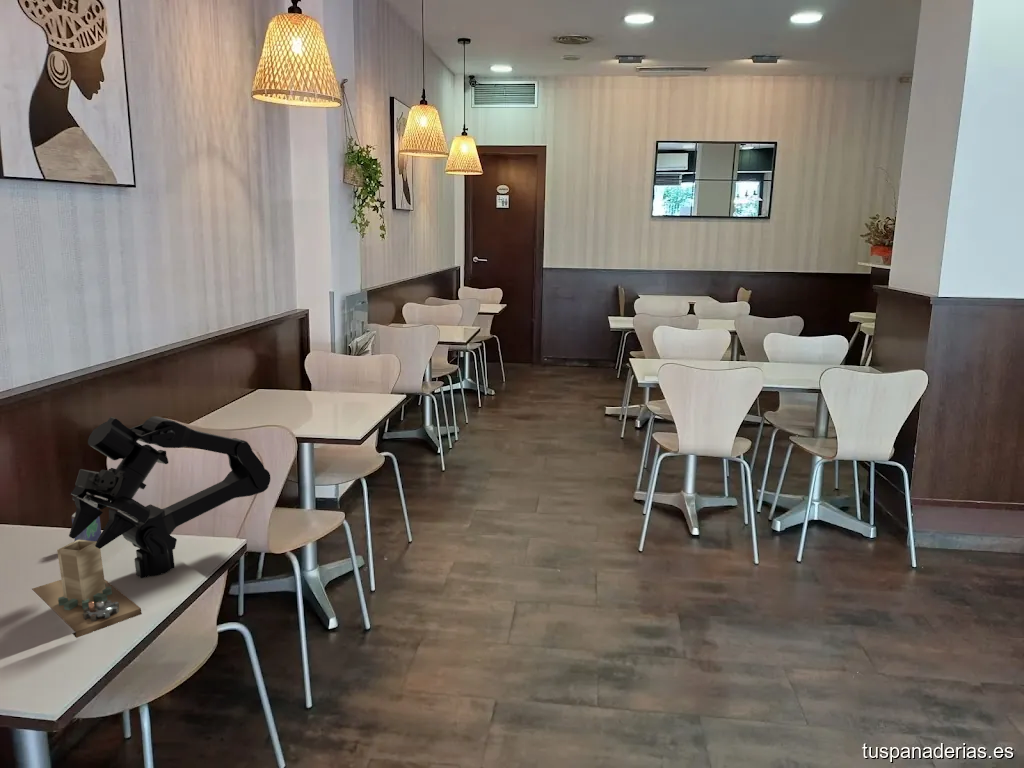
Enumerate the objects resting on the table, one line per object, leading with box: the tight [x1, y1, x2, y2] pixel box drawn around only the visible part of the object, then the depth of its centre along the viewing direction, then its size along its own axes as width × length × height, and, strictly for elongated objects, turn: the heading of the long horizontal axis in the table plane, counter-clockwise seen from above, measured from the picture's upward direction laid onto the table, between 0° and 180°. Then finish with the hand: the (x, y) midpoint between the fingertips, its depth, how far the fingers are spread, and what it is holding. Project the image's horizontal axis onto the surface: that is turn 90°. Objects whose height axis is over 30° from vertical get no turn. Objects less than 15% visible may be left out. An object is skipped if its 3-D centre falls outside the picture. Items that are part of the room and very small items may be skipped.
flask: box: [71, 508, 102, 542], centre depth 174 cm, size 9×3×11 cm, turn 2°
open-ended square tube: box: [56, 540, 112, 610], centre depth 146 cm, size 9×9×11 cm
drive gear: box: [83, 600, 119, 621], centre depth 141 cm, size 6×6×3 cm
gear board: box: [32, 578, 142, 639], centre depth 148 cm, size 11×25×1 cm, turn 47°
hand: (84, 542), depth 146 cm, fingers open, 9 cm apart
